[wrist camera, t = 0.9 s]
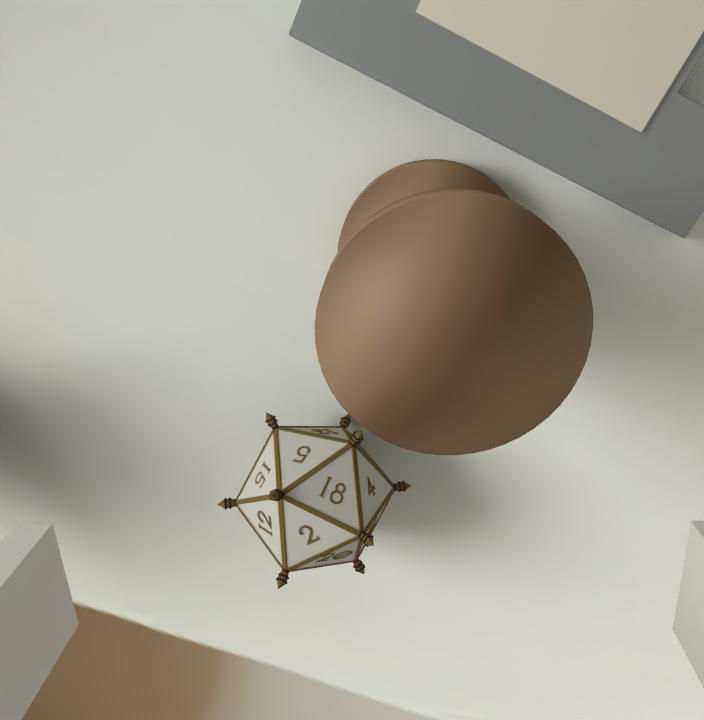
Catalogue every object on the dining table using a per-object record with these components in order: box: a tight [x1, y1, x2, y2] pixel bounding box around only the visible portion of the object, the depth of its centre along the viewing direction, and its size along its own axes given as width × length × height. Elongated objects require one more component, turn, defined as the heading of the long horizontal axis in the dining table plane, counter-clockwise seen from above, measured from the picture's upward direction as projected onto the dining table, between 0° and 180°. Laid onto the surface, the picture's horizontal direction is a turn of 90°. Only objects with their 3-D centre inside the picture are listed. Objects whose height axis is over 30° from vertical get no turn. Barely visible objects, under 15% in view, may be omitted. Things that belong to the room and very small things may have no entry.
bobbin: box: [315, 159, 593, 455], centre depth 27 cm, size 9×9×12 cm
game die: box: [218, 413, 411, 589], centre depth 33 cm, size 9×8×10 cm
